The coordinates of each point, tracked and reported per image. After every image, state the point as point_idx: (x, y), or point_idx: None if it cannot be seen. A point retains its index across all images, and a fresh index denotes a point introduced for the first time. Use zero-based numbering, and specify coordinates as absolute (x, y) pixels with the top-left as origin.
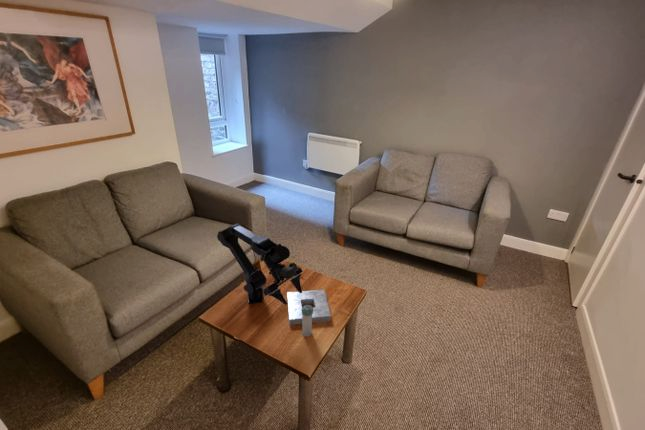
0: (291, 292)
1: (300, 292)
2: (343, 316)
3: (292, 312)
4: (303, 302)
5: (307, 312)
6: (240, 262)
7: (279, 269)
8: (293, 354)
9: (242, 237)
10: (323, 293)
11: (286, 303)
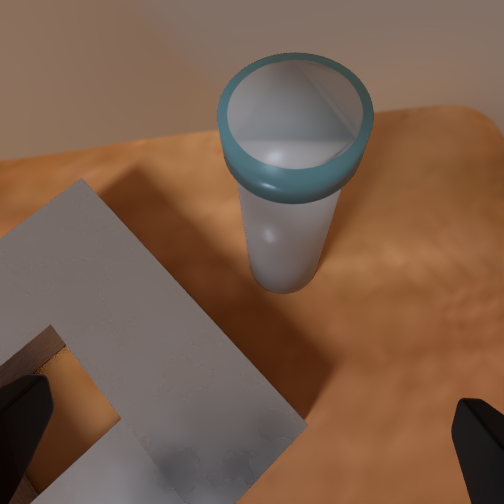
0: None
1: (42, 401)
2: (22, 167)
3: (216, 465)
4: (18, 490)
5: (345, 76)
6: None
7: None
8: (472, 226)
9: None
10: None
11: (479, 402)
